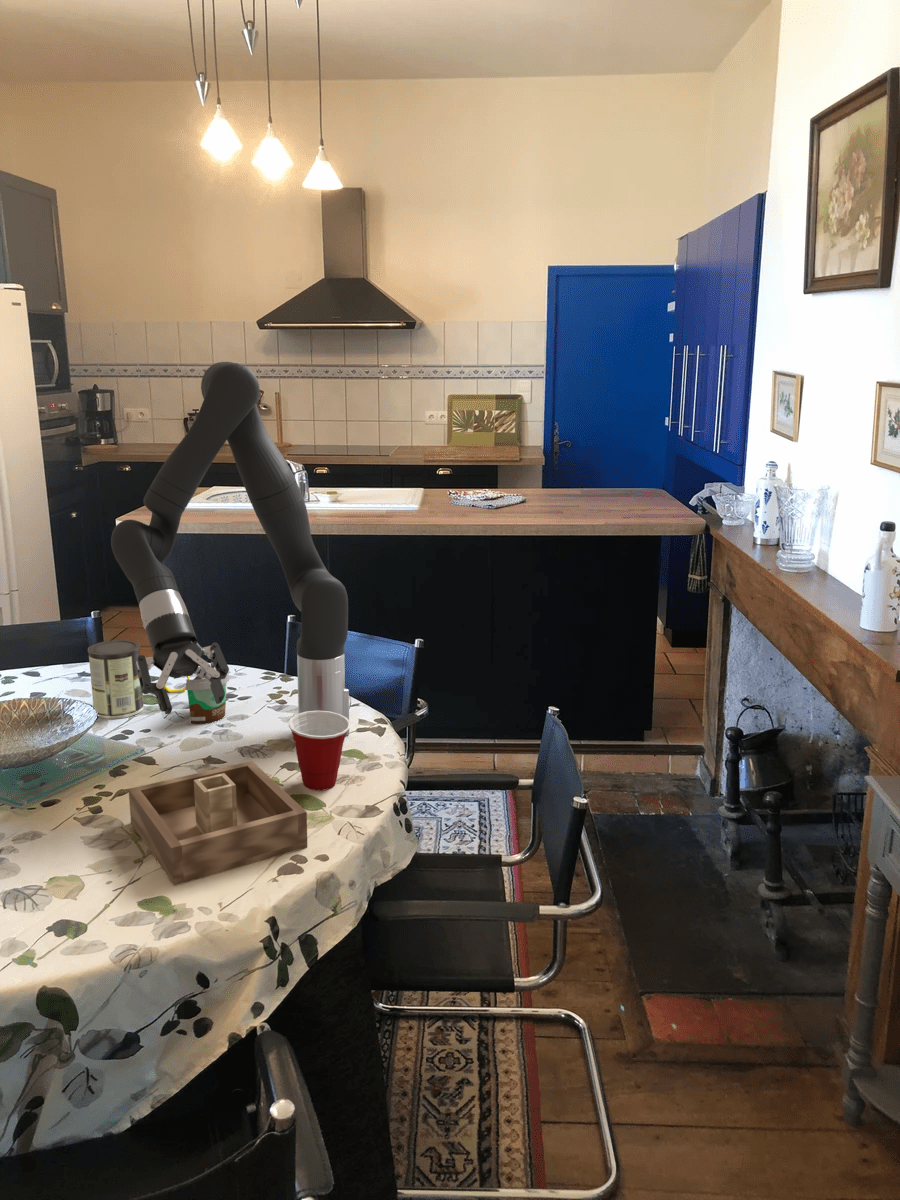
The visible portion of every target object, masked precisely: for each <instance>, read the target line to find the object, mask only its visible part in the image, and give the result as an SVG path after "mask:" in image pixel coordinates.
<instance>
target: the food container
mask: <svg viewBox="0 0 900 1200" xmlns="http://www.w3.org/2000/svg"><path fill="white" fill-rule="evenodd" d="M210 666H211V667H212V668H213V669H215V670H216V668H215V666H214V663H213V661H211V662H210ZM230 679H231V678H230V674H229V672H228V673H227V676H226V678H225V679H221V683H222V686H223V688H224V691H225V696H224V698H223V700H222V702H221V703H219V704H216V702H215V699H214V696H213V693H212V690H211V687H210V685H211V683H210V682H208V681H207V680H206V679H204V678H200V677H199V676H197V675H196V676H195V677H194V678H193V679H190V680H188V679H187V678H186V681H185V686H186V690H185V691H187V700H188V708H189V709H188V710H189V718H190V725H206V723H208V724H211V723H212V722H213V723H216V722H219V721H221V720H223V719H224V718H225V717H224V716H226V704H227V703H226V702H227V683H228V682H229V681H230ZM223 717H224V718H223ZM222 718H223V719H222ZM220 719H221V720H220ZM218 720H219V721H218ZM215 721H216V722H215Z"/></svg>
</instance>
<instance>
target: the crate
mask: <svg viewBox="0 0 900 1200" xmlns="http://www.w3.org/2000/svg"><path fill="white" fill-rule="evenodd" d="M222 773H225V774H226V775H227V776H228V777H229V778H230V779H231V781H232V782H233V783H234V784H235V785H236V802H237V826H233V827H229V828H226V829H222V830H218V831H214V832H210V833H207V834H202V833H201V832H200V830H199V829H198V828H197V827H196V813H195V795H194V780H196V779H201V778H205V777H209V776H214V775H218V774H222ZM127 790H128V800H129V815H130V824H131V825H132V826H133V828H134V829H135V831H136V832H137V834H138V836H140V839H141V840H142V841H143V842H144V844H145V846H146V847H147V849H148V850H149V851H150V853H151V854H152V856H153V858H154V859H155V860H156V862H157V863H158V865H159V866H160V868H161V869H162V871H163V872H164V873H165V875H166V876H167V878H168V879H169V881H170V882H171V884H172V885H173V886H178V885H181V884H185V883H188V882H191V881H195V880H198V879H201V878H205V877H209V876H211V875H216V874H219V873H223V872H226V871H229V870H234V869H236V868H240V867H244V866H246V865H251V864H254V863H257V862H260V861H265V860H268V859H271V858H274V857H279V856H282V855H285V854H289V853H292V852H295V851H298V850H302V849H303V850H304V849H306V848H308V813H307V811H306V810H305V809H304V808H303V807H302V806H301V805H300V804H299V803H298V802H297V801H296V800H295V799H294V798H292V797H291V796H290V795H289V794H288V793H287V792H286V791H285V790H284V789H283V787H281V786H279V785H278V783H277V782H275V781H274V780H273V779H272V778H271V777H270V776H269V775H268V774H267V773H266V772H265V771H264V770H263V769H261V768H260V767H259V766H258V765H257V764H256V763H255V762H254V761H253V760H250V761H245V762H240V763H236V764H233V765H232V764H231V765H226V766H223V767H218V768H215V769H210V770H205V771H201V772H197V773H193V774H188V775H183V776H180V777H174V778H171V779H167V780H162V781H158V782H153V783H149V784H145V785H140V786H135V787H131V788H128V789H127Z"/></svg>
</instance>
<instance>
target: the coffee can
mask: <svg viewBox="0 0 900 1200" xmlns="http://www.w3.org/2000/svg"><path fill="white" fill-rule="evenodd" d="M140 649H141V644H140V643H139V642H137V641H134V640H129V639H112V640H105V641H101V642H96V643H95V644H92V645H90V646H89V647H88V648H87V653H88V661H89V663H88V664H89V672H90V683H91V692H92V693H91V694H92V695H91V696H92V706H93V708H94V707H95V708H96V710H97V712H98V715H99V717H98V718H99V719H109V720H118V719H126V718H130V717H133V716H136V715H139V714H140V713H142V712H143V711H144V709H145V705H144V694H143V693H142V690H141V686H140V682H139V678H138V673H137V669H136V662H137V659H138V656H140V655H141V653H140Z"/></svg>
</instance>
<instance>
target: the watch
mask: <svg viewBox="0 0 900 1200" xmlns="http://www.w3.org/2000/svg"><path fill="white" fill-rule="evenodd" d="M186 679H188V680H191V676H186ZM164 689H166V690H167V693H169V694H173V693H184V692H186V691H187V690H186V685H185V686H184V687H183V688H179V689H178V688H177V689H174V688H173V689H171V688H169V687H168V686H167V685H166V684H165V686H164Z"/></svg>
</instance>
